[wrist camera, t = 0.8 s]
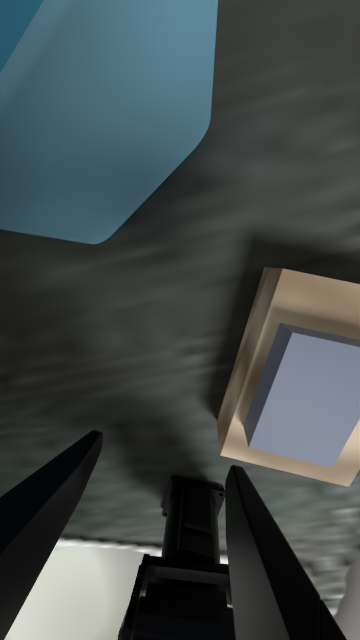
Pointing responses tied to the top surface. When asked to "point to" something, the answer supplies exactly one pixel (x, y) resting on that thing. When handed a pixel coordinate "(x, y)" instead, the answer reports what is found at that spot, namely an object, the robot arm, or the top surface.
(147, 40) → the data package
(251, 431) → the block
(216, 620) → the robot arm
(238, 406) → the beige shallow box
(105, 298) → the top surface
